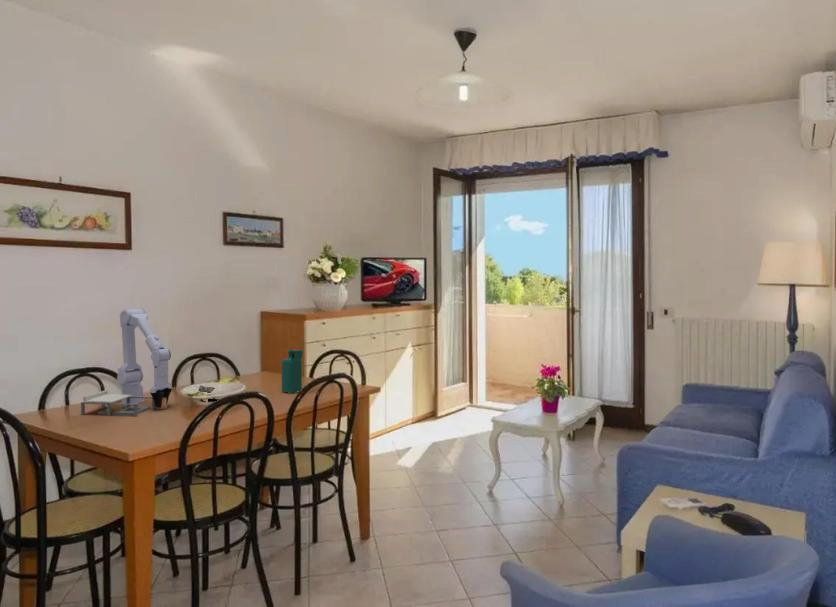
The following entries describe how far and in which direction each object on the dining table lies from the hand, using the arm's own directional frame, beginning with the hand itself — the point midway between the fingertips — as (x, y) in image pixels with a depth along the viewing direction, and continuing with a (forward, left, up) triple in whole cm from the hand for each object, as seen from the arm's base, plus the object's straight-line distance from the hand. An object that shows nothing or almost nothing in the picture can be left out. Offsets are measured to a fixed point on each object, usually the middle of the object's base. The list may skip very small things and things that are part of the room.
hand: (161, 406), depth 264 cm
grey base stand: (+9, -14, -1) cm, 17 cm away
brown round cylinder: (0, 0, -1) cm, 1 cm away
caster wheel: (-22, +14, -2) cm, 26 cm away
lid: (+9, -19, +5) cm, 21 cm away
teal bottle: (-47, +45, -2) cm, 65 cm away
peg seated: (+9, -16, -1) cm, 18 cm away
